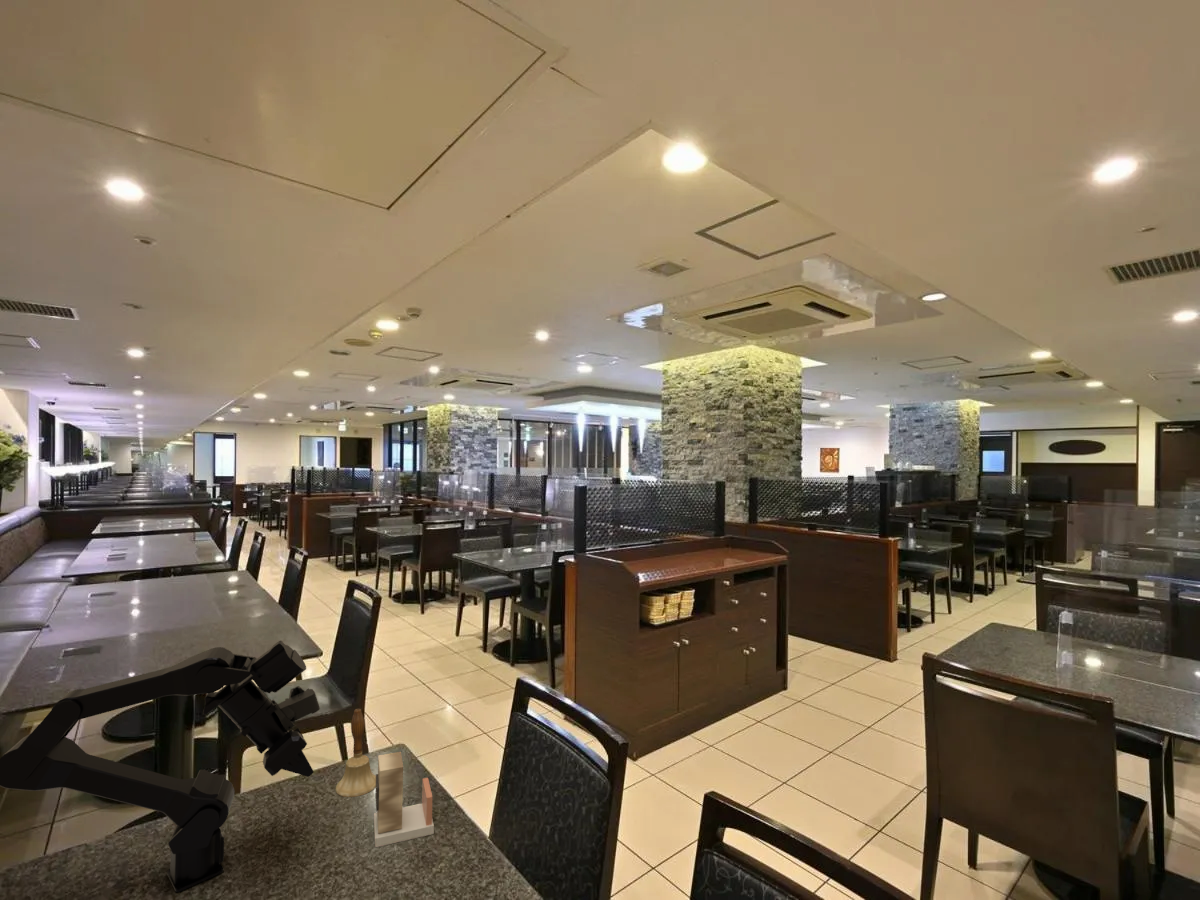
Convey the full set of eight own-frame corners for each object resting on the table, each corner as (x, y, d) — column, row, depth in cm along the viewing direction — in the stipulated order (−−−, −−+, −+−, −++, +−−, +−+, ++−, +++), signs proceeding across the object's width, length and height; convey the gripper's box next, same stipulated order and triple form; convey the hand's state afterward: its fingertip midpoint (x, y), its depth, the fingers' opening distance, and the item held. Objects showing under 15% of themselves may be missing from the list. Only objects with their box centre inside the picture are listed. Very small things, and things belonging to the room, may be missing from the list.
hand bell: (363, 799, 116) (364, 719, 117) (326, 794, 118) (328, 715, 118) (386, 777, 125) (387, 703, 125) (351, 773, 126) (353, 699, 127)
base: (375, 847, 102) (376, 810, 102) (373, 821, 109) (374, 786, 110) (433, 833, 106) (434, 797, 106) (428, 809, 113) (429, 776, 114)
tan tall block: (375, 834, 103) (377, 771, 103) (374, 815, 109) (376, 755, 109) (401, 828, 105) (403, 766, 105) (399, 809, 110) (400, 751, 111)
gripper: (302, 684, 95) (361, 750, 99) (288, 666, 111) (340, 723, 114) (237, 740, 89) (302, 808, 93) (232, 712, 105) (288, 772, 108)
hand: (310, 773), depth 102 cm, fingers closed
